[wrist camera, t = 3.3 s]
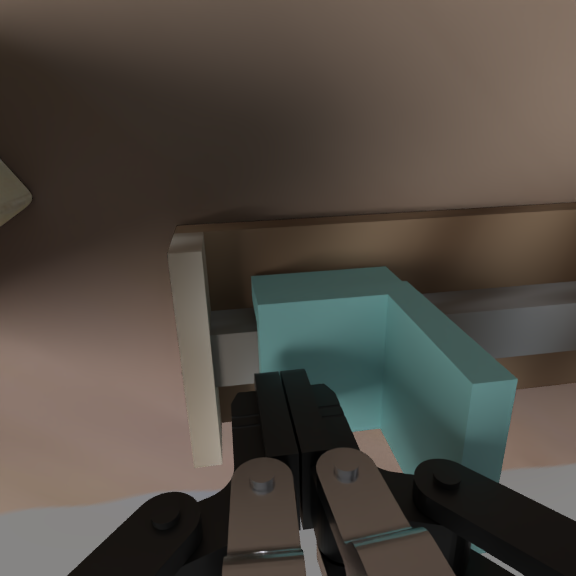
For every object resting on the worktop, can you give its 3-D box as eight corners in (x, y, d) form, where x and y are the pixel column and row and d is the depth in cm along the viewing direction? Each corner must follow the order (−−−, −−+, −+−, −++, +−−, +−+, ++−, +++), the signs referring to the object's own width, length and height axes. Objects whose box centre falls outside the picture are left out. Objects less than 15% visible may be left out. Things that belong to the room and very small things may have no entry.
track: (659, 197, 19) (837, 231, 14) (615, 362, 22) (747, 445, 17) (176, 225, 17) (157, 281, 11) (197, 408, 20) (190, 523, 14)
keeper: (385, 262, 17) (517, 378, 10) (379, 378, 19) (486, 552, 11) (250, 271, 16) (279, 405, 9) (257, 391, 18) (286, 584, 11)
